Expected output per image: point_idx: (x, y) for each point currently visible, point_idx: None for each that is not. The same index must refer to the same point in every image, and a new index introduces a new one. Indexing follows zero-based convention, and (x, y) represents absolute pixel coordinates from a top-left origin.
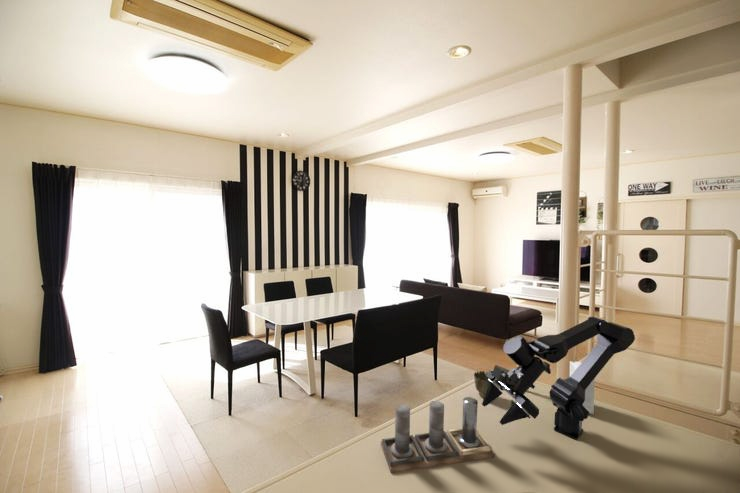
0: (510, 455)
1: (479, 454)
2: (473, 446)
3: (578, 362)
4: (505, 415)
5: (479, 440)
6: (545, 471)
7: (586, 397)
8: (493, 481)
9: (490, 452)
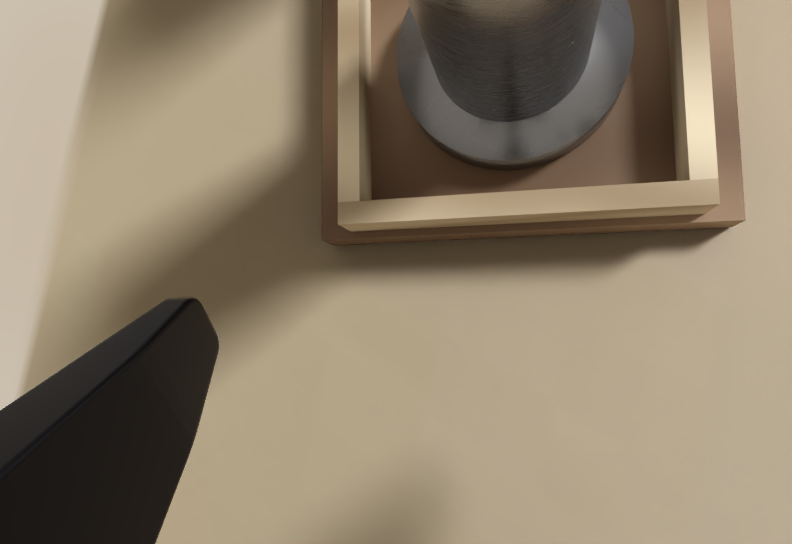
0: (317, 405)
1: (330, 97)
2: (398, 56)
3: None
4: (28, 415)
5: (465, 152)
6: None
7: None
8: (118, 111)
9: (334, 211)
